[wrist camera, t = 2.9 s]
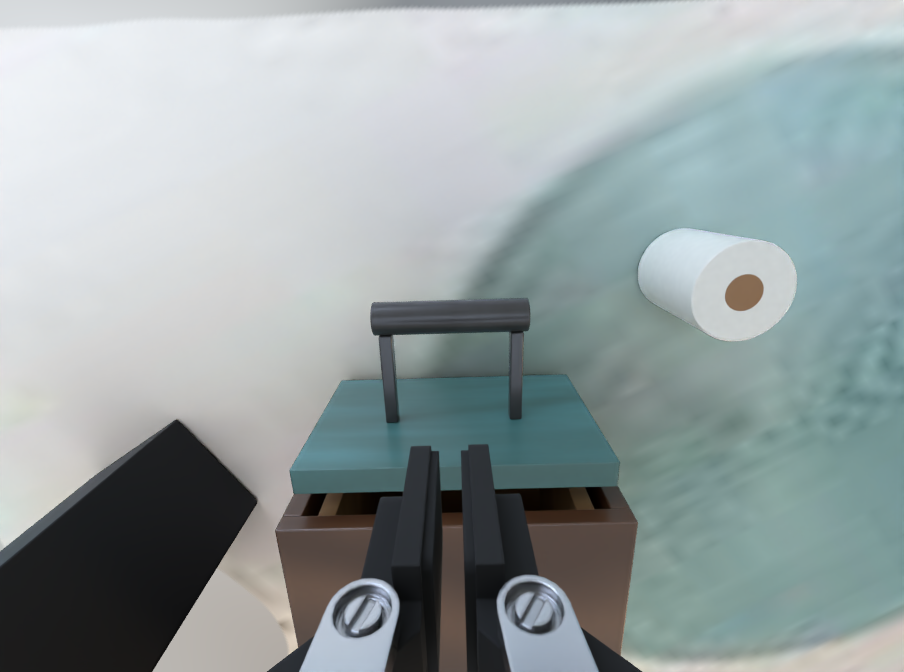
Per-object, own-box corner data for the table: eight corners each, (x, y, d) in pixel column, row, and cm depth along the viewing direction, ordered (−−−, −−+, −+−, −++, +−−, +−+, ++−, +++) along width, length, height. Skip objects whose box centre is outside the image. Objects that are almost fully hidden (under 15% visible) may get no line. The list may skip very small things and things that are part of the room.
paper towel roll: (724, 226, 24) (809, 238, 18) (711, 306, 26) (786, 340, 20) (641, 229, 24) (700, 241, 18) (632, 309, 26) (684, 343, 20)
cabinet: (339, 406, 28) (274, 530, 18) (570, 400, 28) (638, 522, 17) (363, 592, 33) (322, 773, 23) (558, 588, 33) (606, 768, 22)
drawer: (329, 282, 24) (264, 332, 16) (572, 275, 24) (635, 321, 16) (364, 568, 31) (331, 709, 22) (555, 563, 31) (593, 704, 22)
